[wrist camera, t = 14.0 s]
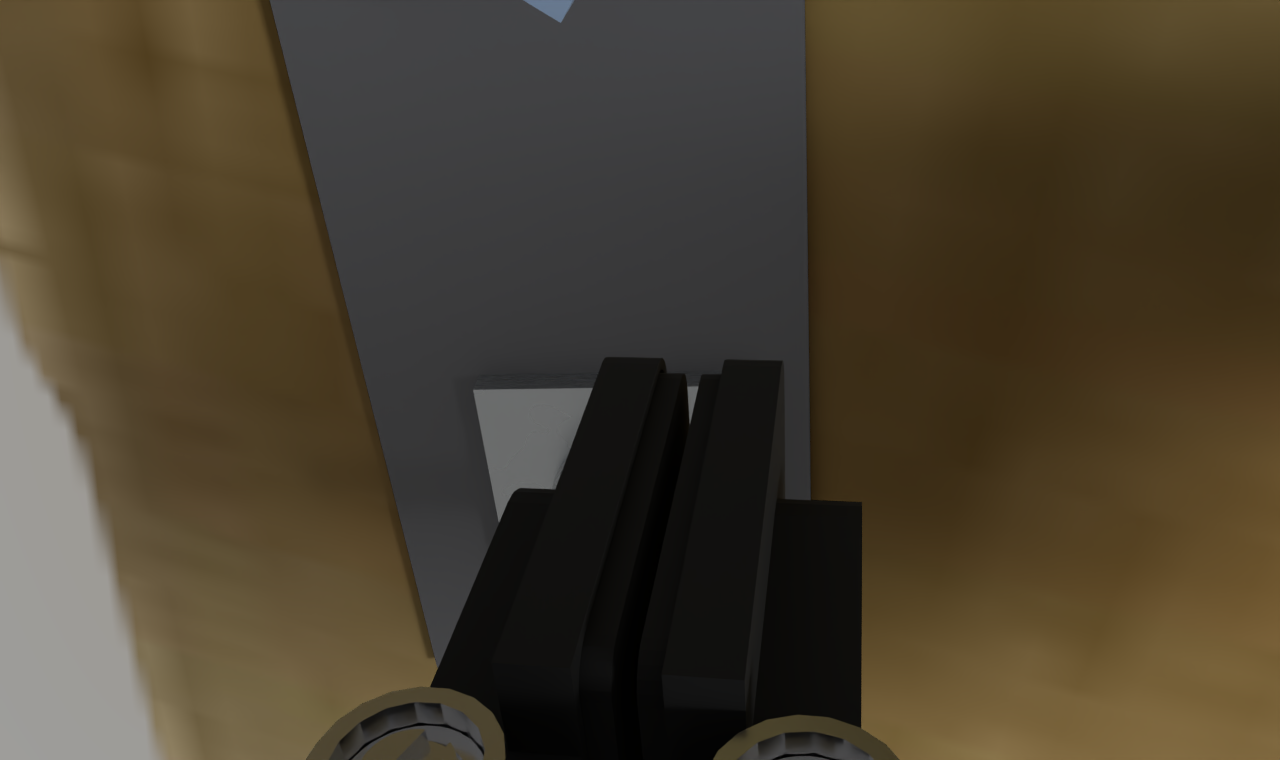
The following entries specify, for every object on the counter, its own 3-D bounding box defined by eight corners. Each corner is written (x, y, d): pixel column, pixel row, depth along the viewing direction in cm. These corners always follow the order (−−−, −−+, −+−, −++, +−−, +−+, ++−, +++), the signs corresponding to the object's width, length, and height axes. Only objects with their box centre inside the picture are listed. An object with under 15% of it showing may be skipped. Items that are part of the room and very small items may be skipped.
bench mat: (795, -820, 20) (794, -828, 20) (812, 665, 39) (812, 674, 39) (100, -711, 22) (89, -716, 22) (440, 658, 41) (437, 667, 41)
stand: (755, 370, 33) (746, 558, 26) (763, 584, 37) (758, 793, 30) (479, 374, 34) (401, 556, 27) (518, 581, 38) (460, 783, 31)
